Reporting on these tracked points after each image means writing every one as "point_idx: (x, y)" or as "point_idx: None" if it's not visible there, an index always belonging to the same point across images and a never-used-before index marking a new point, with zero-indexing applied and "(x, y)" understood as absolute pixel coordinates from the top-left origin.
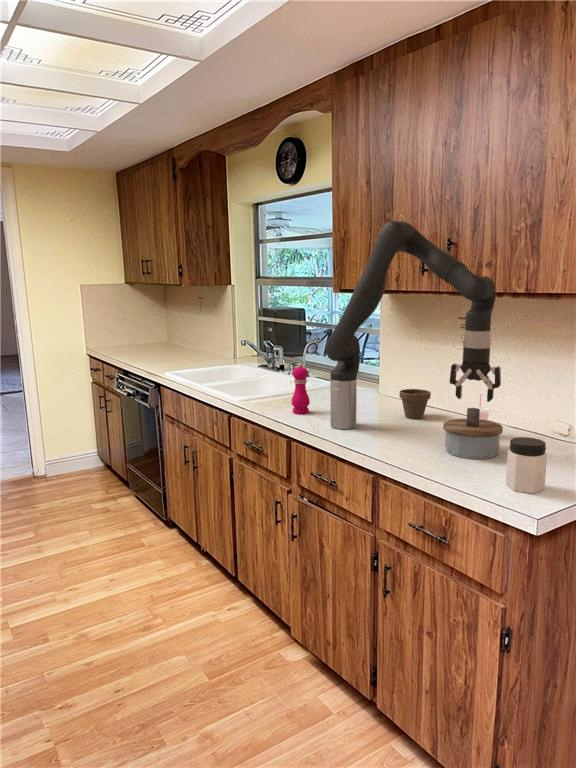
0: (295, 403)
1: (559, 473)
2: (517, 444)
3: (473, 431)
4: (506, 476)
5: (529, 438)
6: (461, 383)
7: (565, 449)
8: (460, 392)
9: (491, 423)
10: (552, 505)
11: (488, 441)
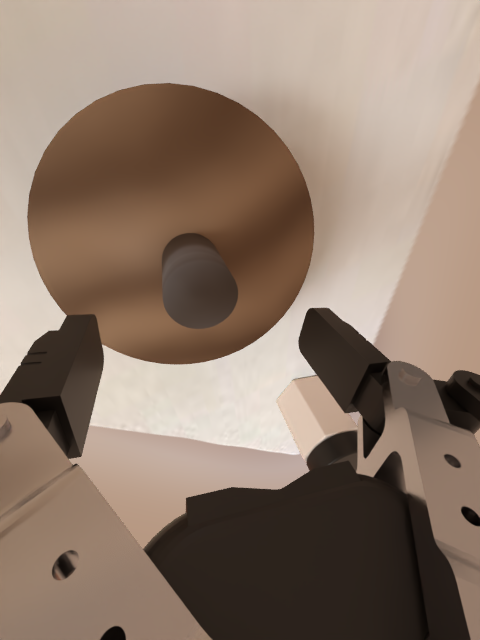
0: None
1: (372, 309)
2: None
3: (211, 344)
4: (281, 412)
5: (355, 457)
6: (44, 442)
7: (475, 63)
8: (91, 390)
9: (270, 184)
10: None
11: None
